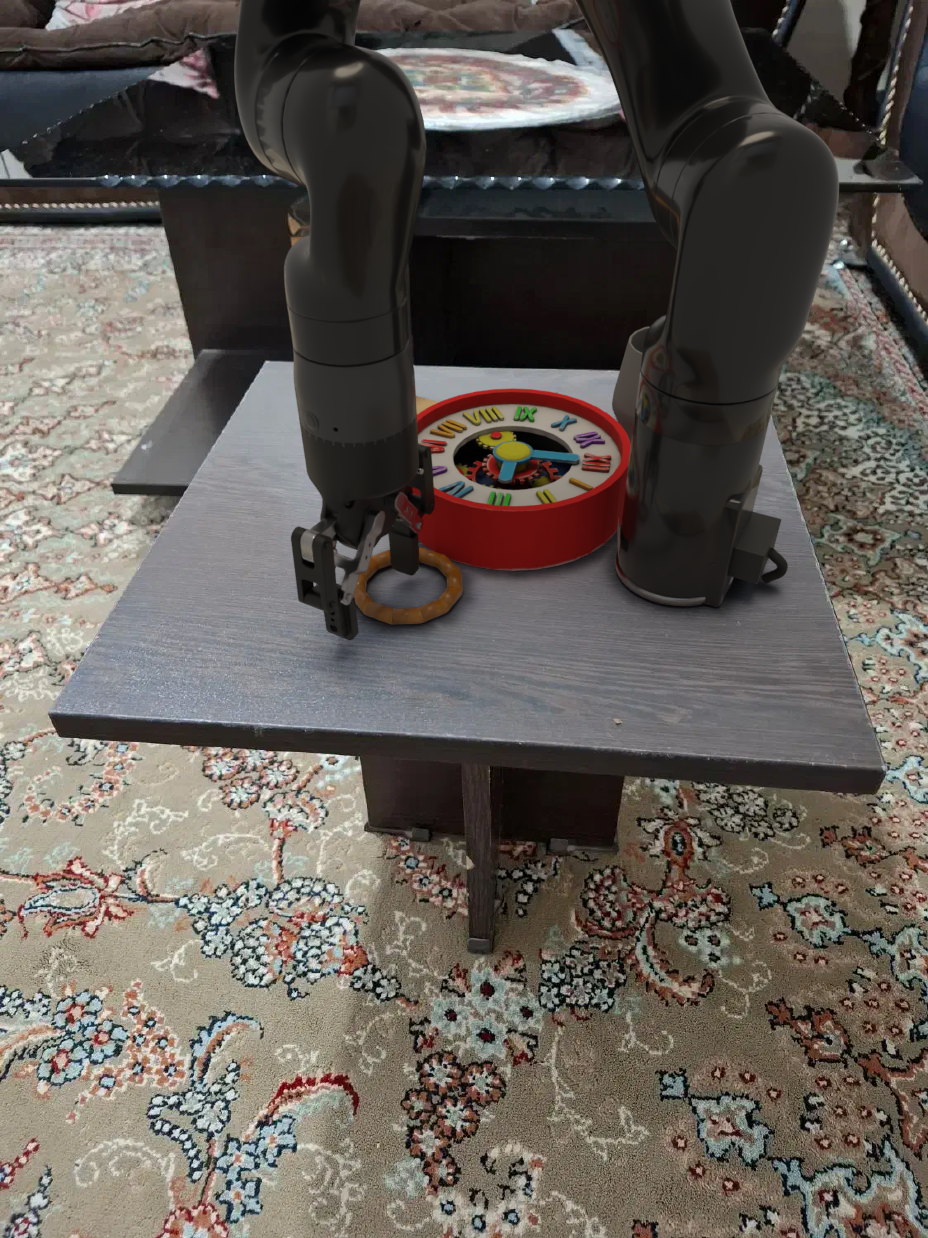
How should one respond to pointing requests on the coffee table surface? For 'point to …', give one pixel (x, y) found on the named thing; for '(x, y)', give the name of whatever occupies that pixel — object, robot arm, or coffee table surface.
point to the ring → (410, 614)
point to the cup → (629, 382)
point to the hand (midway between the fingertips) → (376, 601)
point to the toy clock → (522, 478)
